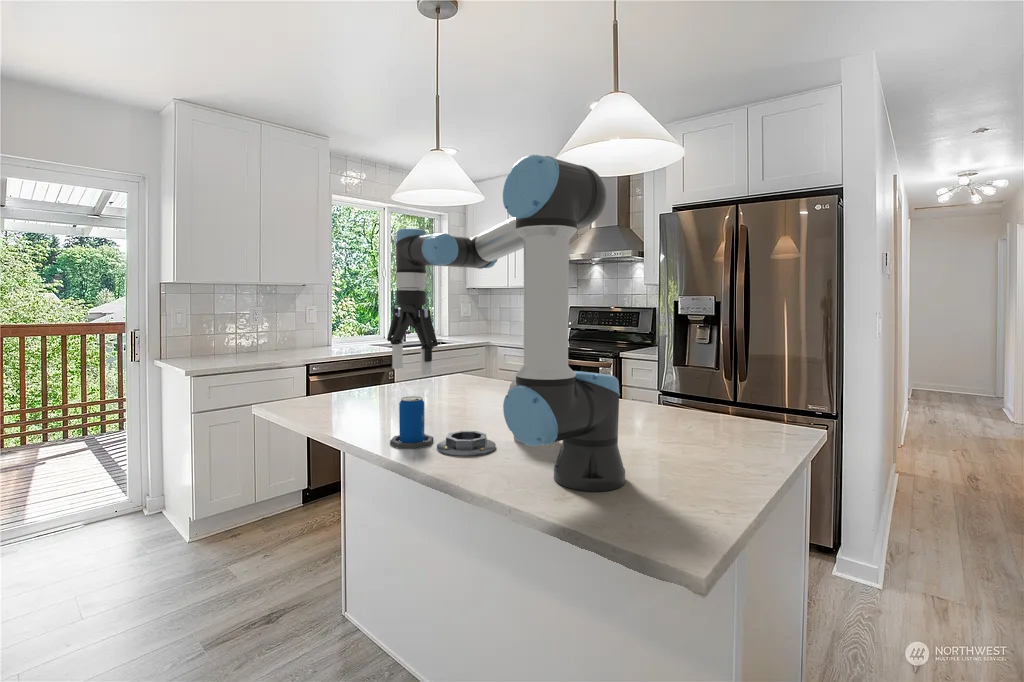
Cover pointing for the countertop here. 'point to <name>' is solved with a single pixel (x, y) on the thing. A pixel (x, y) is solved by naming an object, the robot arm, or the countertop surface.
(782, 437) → the countertop surface
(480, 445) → the hub socket
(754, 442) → the countertop surface
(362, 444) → the countertop surface
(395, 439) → the stand ring
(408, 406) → the beverage can
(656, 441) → the countertop surface
